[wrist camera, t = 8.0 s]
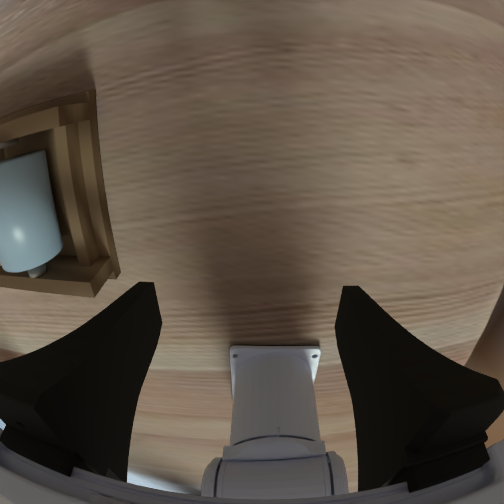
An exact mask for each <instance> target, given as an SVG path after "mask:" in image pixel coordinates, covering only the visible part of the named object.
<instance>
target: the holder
mask: <svg viewBox="0 0 504 504" xmlns="http://www.w3.org/2000/svg"><path fill="white" fill-rule="evenodd" d="M40 149H45V151H46V158H47V165H48V172H49V178H50V184H51V190H52V195H53V200H54V205H55V210H56V214H57V219H58V223H59V227H60V231H61V235H62V239H63V248H62V249H61V251H60V252H59V253H58V254H57V255H56V256H55V257H53V258H52V259H51V260H49V261H48V262H46V263H44V264H42V265H40V266H38V267H35V268H33V269H30V270H27V271H22V272H7V271H5V270H4V269H3V268H2V265H1V266H0V287H6V288H13V289H21V290H28V291H37V292H45V293H54V294H63V295H73V296H83V297H94V298H95V296H96V295H97V293H98V292H99V291H100V289H101V288H102V286H103V285H104V283H105V282H106V281H107V279H117V277H118V276H119V274H120V273H121V272H120V267H119V263H118V258H117V254H116V249H115V245H114V240H113V235H112V230H111V224H110V219H109V213H108V207H107V201H106V195H105V188H104V181H103V174H102V166H101V157H100V148H99V138H98V126H97V111H96V90H91V91H85V92H80V93H76V94H72V95H69V96H65V97H61V98H58V99H54V100H51V101H47V102H44V103H41V104H38V105H35V106H32V107H29V108H26V109H23V110H20V111H17V112H14V113H12V114H9V115H6V116H4V117H1V118H0V161H1V160H4V159H7V158H10V157H13V156H16V155H19V154H23V153H27V152H30V151H35V150H40Z"/></svg>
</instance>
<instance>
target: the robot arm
mask: <svg viewBox="0 0 504 504" xmlns="http://www.w3.org/2000/svg"><path fill="white" fill-rule="evenodd" d="M161 327H162V319H161V315H160V310H159V305H158V301H157V296H156V291H155V286H154V282H138V283H137V284H136V285H134V286H133V287H132V288H130V289H129V290H128V291H126V292H125V293H124V294H123V295H122V296H120V297H119V298H118V299H117V300H115V301H114V302H113V303H112V304H110V305H109V306H108V307H107V308H105V309H104V310H103V311H101V312H100V313H99V314H97V315H96V316H95V317H93V318H92V319H90V320H89V321H88V322H86V323H85V324H83V325H82V326H80V327H79V328H77V329H76V330H74V331H73V332H71V333H69V334H68V335H66V336H64V337H62V338H60V339H59V340H57V341H55V342H53V343H51V344H49V345H47V346H45V347H43V348H40V349H38V350H36V351H33V352H31V353H28V354H26V355H23V356H20V357H17V358H14V359H11V360H7V361H4V362H0V419H1V420H2V421H3V422H4V423H5V424H6V426H5V428H4V430H2V429H1V428H0V496H1V497H3V498H4V499H6V500H7V501H9V502H11V503H12V504H504V439H503V440H501V441H499V442H497V443H495V444H493V445H492V446H490V447H489V448H487V449H486V447H485V444H484V442H486V441H487V440H488V436H487V434H486V432H485V430H487V429H488V428H489V426H490V425H491V424H492V423H493V422H494V421H495V420H496V419H497V418H498V417H499V415H500V414H501V413H502V412H503V410H504V391H503V389H502V387H501V385H500V383H499V381H498V380H497V379H495V378H492V377H489V376H486V375H484V374H481V373H478V372H475V371H473V370H470V369H469V368H466V367H464V366H462V365H460V364H458V363H456V362H454V361H452V360H450V359H449V358H447V357H445V356H443V355H442V354H440V353H438V352H437V351H435V350H433V349H432V348H430V347H429V346H427V345H426V344H425V343H423V342H422V341H420V340H419V339H417V338H416V337H415V336H413V335H412V334H411V333H410V332H408V331H407V330H406V329H405V328H404V327H402V326H401V325H400V324H399V323H398V322H396V321H395V320H394V319H393V318H392V317H391V316H390V315H389V314H388V313H387V312H385V311H384V310H383V309H382V308H381V307H380V306H379V305H378V304H377V303H376V302H375V301H374V300H373V299H372V298H371V297H370V296H369V295H368V294H367V293H366V292H365V291H363V290H362V289H361V288H360V287H359V286H343V289H342V294H341V299H340V304H339V309H338V313H337V318H336V323H335V333H336V340H337V346H338V351H339V355H340V358H341V362H342V365H343V369H344V373H345V376H346V380H347V383H348V387H349V391H350V394H351V399H352V404H353V411H354V419H355V427H356V438H357V452H358V492H354V493H349V492H348V480H347V473H346V468H345V464H344V461H343V459H342V458H341V457H340V456H339V455H337V454H336V452H334V451H329V452H326V450H325V442H324V441H321V440H320V431H319V423H318V415H317V407H316V400H315V392H314V385H313V384H314V380H315V376H316V372H317V368H318V363H319V359H320V354H321V348H320V347H319V346H231V347H230V366H231V380H232V393H233V411H232V423H231V435H230V446H224V448H223V458H221V457H216V458H214V459H213V460H212V461H211V463H210V464H208V465H207V467H206V469H205V471H204V474H203V478H202V485H201V496H197V495H189V494H182V493H175V492H169V491H163V490H158V489H153V488H148V487H143V486H139V485H134V484H130V483H127V469H128V456H129V447H130V439H131V433H132V427H133V421H134V416H135V411H136V406H137V402H138V397H139V394H140V391H141V388H142V385H143V382H144V379H145V377H146V374H147V371H148V368H149V366H150V363H151V360H152V358H153V355H154V352H155V350H156V347H157V344H158V340H159V336H160V331H161ZM234 354H237V355H234ZM314 354H316V355H314Z"/></svg>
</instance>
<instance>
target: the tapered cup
mask: <svg viewBox="0 0 504 504" xmlns="http://www.w3.org/2000/svg"><path fill="white" fill-rule="evenodd" d="M62 248H63V239H62V235H61V231H60V227H59V223H58V219H57V214H56V210H55V205H54V200H53V195H52V190H51V184H50V178H49V172H48V165H47V158H46V151H45V149H40V150H35V151H30V152H27V153H23V154H19V155H16V156H13V157H10V158H7V159H4V160H1V161H0V263H1V265H2V268H3V269H4V270H5V271H7V272H22V271H27V270H30V269H33V268H35V267H38V266H40V265H42V264H44V263H46V262H48V261H49V260H51V259H52V258H53V257H55V256H56V255H57V254H58V253H59V252H60V251H61V249H62Z"/></svg>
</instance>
